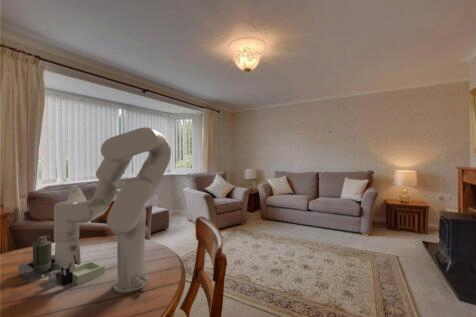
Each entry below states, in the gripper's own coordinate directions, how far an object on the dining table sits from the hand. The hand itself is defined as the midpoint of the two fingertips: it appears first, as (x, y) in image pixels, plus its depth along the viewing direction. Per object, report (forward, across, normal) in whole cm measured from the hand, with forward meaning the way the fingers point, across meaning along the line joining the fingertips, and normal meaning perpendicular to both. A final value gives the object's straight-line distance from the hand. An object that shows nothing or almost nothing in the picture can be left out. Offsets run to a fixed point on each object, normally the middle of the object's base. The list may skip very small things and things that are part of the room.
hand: (66, 284), depth 85 cm
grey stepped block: (+1, +9, 0) cm, 9 cm away
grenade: (+2, +23, 0) cm, 23 cm away
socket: (+2, +23, 0) cm, 23 cm away
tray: (+1, +4, -8) cm, 9 cm away
